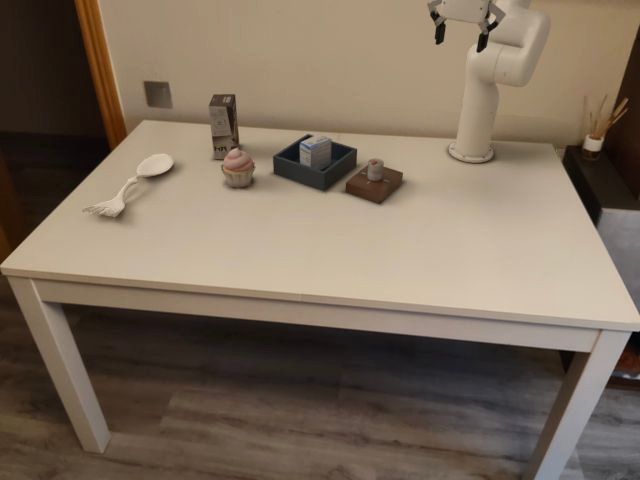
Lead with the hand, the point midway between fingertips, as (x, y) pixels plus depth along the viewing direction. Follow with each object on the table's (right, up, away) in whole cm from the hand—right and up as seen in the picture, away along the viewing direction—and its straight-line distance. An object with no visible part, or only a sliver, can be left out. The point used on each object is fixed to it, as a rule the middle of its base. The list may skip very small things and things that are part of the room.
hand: (459, 47), depth 122 cm
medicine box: (-32, -24, +29) cm, 50 cm away
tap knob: (-17, -27, +20) cm, 38 cm away
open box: (-32, -24, +29) cm, 50 cm away
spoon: (-79, -30, +20) cm, 87 cm away
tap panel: (-17, -29, +22) cm, 40 cm away
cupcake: (-53, -28, +24) cm, 64 cm away
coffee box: (-58, -18, +37) cm, 71 cm away
